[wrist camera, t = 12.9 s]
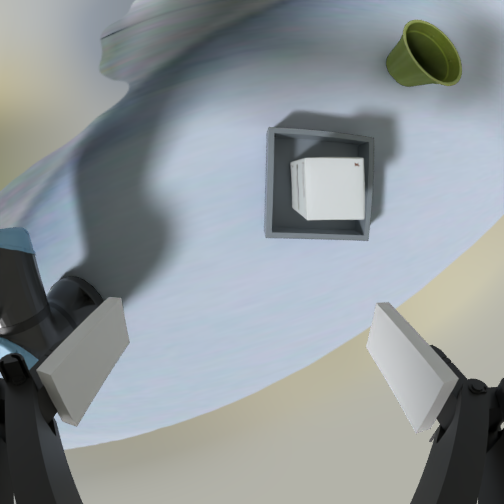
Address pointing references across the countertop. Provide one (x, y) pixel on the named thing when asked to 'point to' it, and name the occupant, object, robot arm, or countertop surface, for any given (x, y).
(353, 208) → the supplement box
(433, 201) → the countertop surface
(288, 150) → the grey bin
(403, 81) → the plant pot
